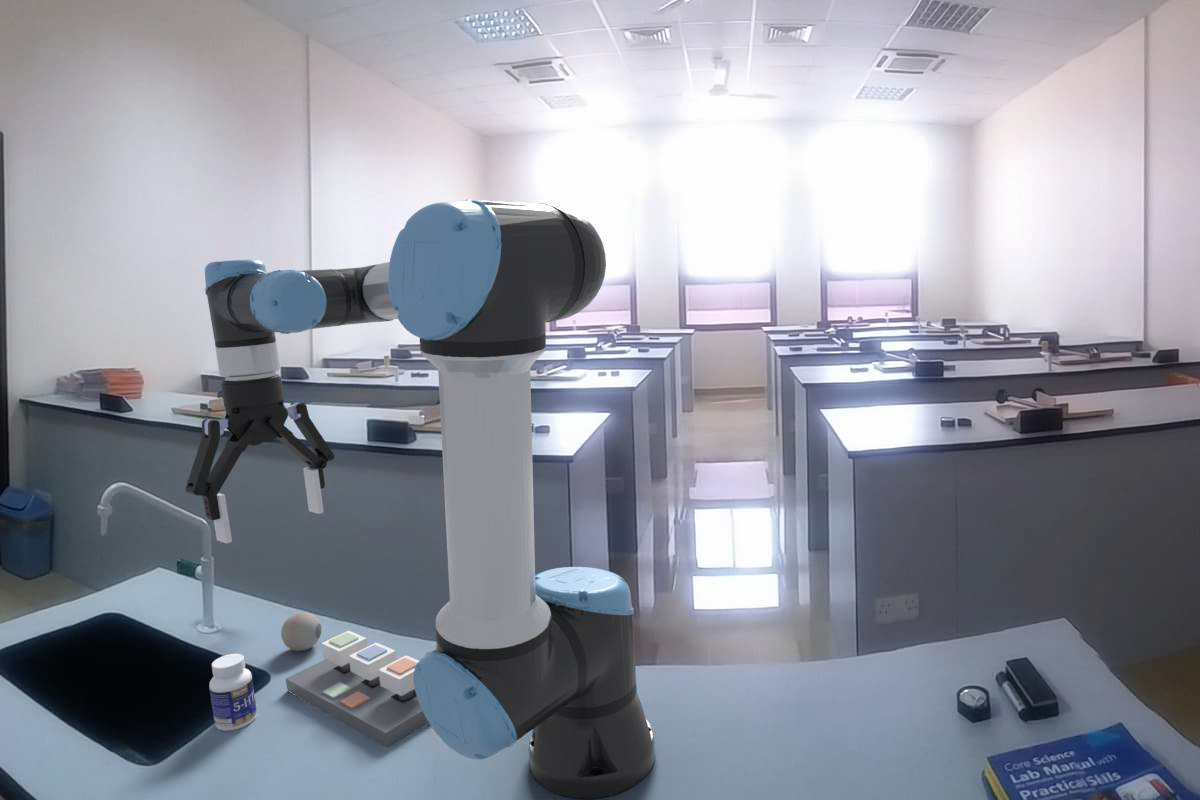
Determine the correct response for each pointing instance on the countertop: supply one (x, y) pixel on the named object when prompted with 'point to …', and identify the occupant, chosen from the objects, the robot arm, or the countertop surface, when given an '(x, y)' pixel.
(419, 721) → the keypad board
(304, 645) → the eyeball
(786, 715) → the countertop surface
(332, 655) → the key sage
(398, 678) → the key terracotta
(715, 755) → the countertop surface
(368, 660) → the white boxy piece
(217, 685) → the pill bottle
